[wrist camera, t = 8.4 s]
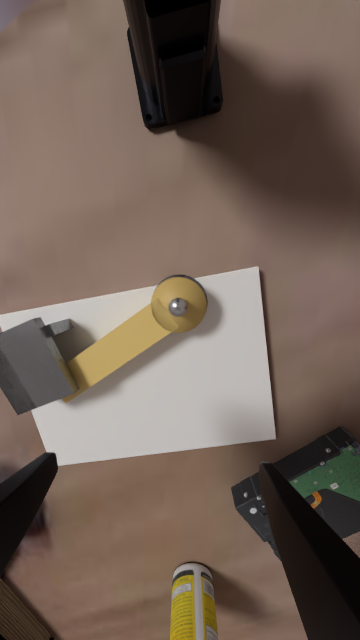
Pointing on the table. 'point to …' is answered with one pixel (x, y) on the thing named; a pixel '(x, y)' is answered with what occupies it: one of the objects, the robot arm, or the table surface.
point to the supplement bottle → (193, 604)
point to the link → (139, 332)
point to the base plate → (163, 377)
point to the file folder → (18, 619)
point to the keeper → (34, 365)
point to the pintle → (178, 304)
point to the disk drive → (312, 485)
